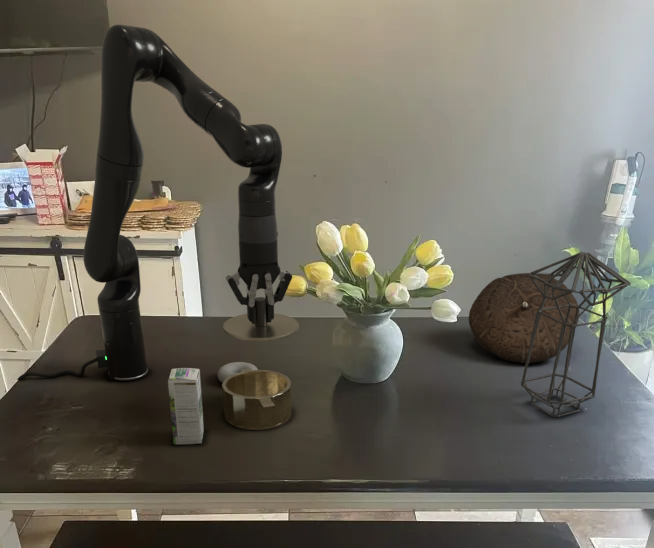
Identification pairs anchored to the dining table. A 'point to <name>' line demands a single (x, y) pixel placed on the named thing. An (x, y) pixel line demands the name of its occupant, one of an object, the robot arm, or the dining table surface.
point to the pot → (257, 399)
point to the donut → (233, 369)
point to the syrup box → (186, 406)
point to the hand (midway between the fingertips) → (260, 321)
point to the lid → (261, 325)
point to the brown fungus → (519, 318)
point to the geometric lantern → (569, 267)
